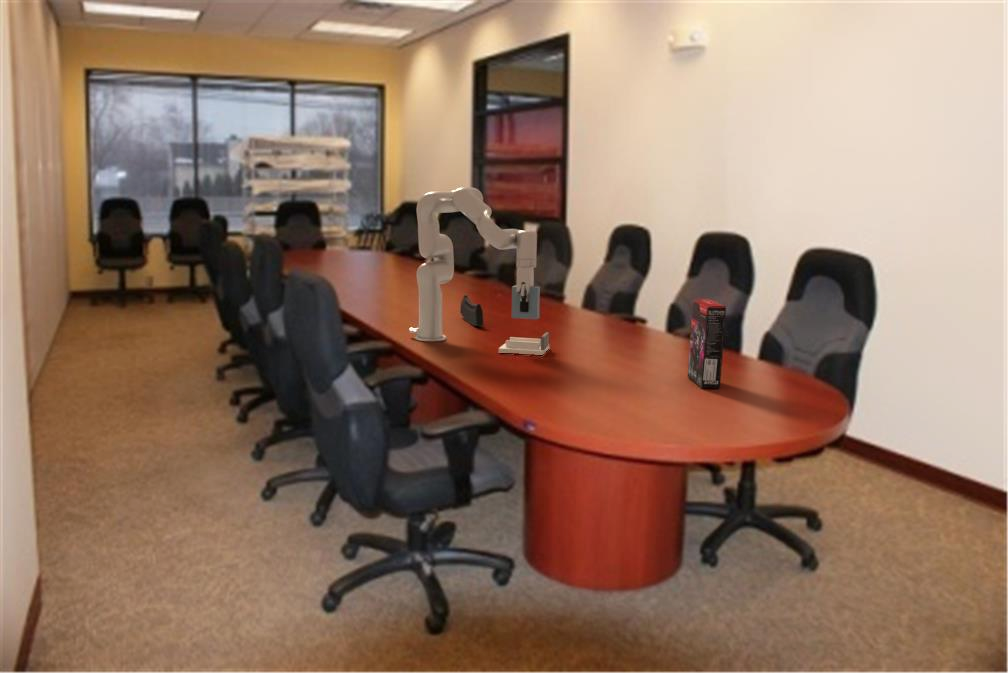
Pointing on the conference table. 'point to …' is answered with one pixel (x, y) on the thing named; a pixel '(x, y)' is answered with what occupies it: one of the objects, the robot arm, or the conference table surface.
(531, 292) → the gray rectangular block
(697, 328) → the graphics card box
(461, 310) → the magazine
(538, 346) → the cream railed panel
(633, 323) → the conference table surface
